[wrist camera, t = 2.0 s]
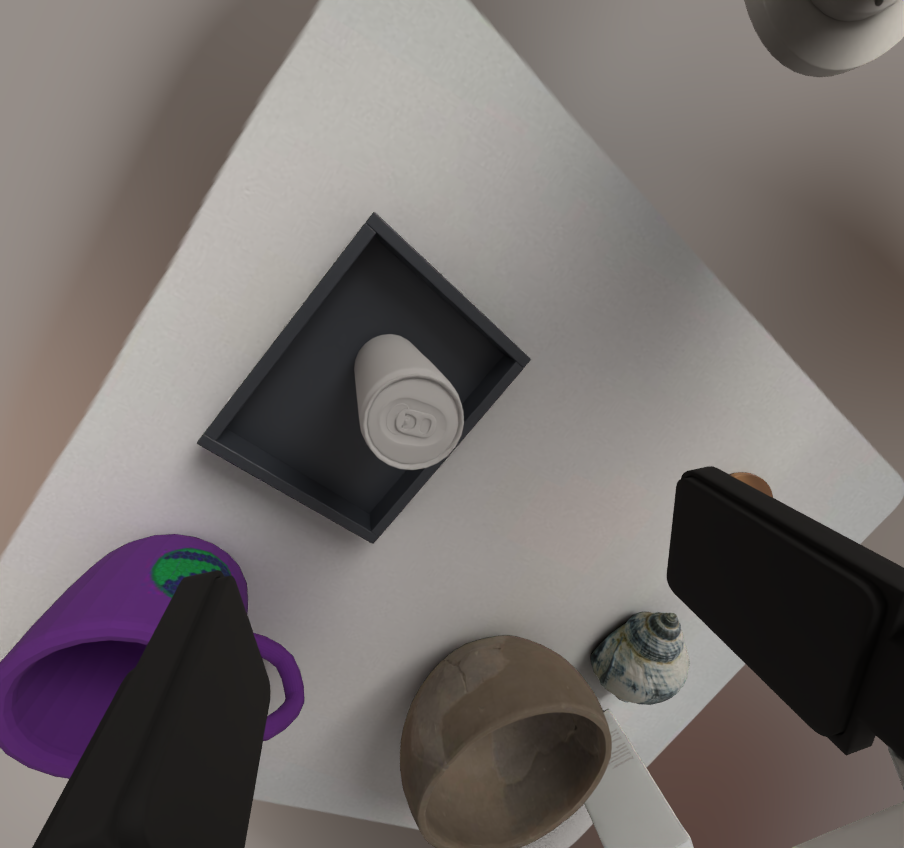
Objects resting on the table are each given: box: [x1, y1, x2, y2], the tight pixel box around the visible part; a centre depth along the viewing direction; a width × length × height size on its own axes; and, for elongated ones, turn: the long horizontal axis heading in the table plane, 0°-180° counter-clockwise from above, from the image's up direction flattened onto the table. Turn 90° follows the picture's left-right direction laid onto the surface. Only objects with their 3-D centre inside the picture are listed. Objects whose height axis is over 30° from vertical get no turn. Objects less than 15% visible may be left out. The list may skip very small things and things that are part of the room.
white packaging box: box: [584, 709, 694, 848], centre depth 45 cm, size 7×7×13 cm
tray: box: [197, 212, 531, 544], centre depth 29 cm, size 18×14×3 cm
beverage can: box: [354, 334, 464, 470], centre depth 25 cm, size 5×5×12 cm
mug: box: [0, 534, 304, 779], centre depth 29 cm, size 17×11×10 cm, turn 48°
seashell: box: [591, 612, 689, 705], centre depth 43 cm, size 6×8×12 cm
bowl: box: [400, 635, 612, 848], centre depth 38 cm, size 17×18×10 cm
